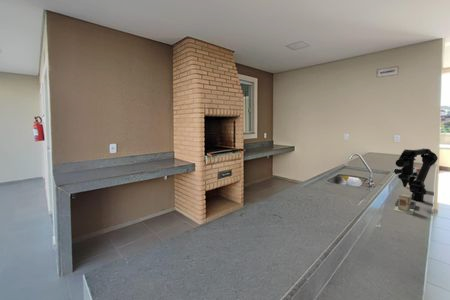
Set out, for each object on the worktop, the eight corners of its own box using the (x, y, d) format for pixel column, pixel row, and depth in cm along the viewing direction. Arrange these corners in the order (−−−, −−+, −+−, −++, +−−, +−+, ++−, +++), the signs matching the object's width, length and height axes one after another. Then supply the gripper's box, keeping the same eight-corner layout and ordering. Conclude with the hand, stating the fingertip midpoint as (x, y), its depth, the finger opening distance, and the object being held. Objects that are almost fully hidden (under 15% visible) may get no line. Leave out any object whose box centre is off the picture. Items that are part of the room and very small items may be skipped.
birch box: (401, 207, 156) (402, 194, 155) (409, 210, 152) (410, 196, 151) (397, 209, 154) (398, 195, 153) (406, 211, 149) (407, 197, 148)
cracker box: (422, 192, 195) (424, 168, 193) (414, 191, 196) (416, 168, 194) (412, 187, 209) (413, 166, 207) (405, 187, 210) (406, 166, 208)
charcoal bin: (397, 202, 169) (397, 199, 169) (415, 206, 162) (416, 202, 161) (395, 206, 161) (395, 202, 161) (414, 210, 154) (414, 206, 154)
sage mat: (395, 207, 160) (395, 206, 160) (413, 210, 153) (413, 209, 153) (393, 211, 153) (393, 209, 153) (412, 214, 146) (412, 213, 146)
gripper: (401, 163, 178) (399, 182, 179) (390, 166, 168) (389, 185, 170) (418, 165, 168) (417, 185, 170) (408, 168, 159) (407, 189, 160)
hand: (407, 186), depth 168 cm, fingers open, 9 cm apart
